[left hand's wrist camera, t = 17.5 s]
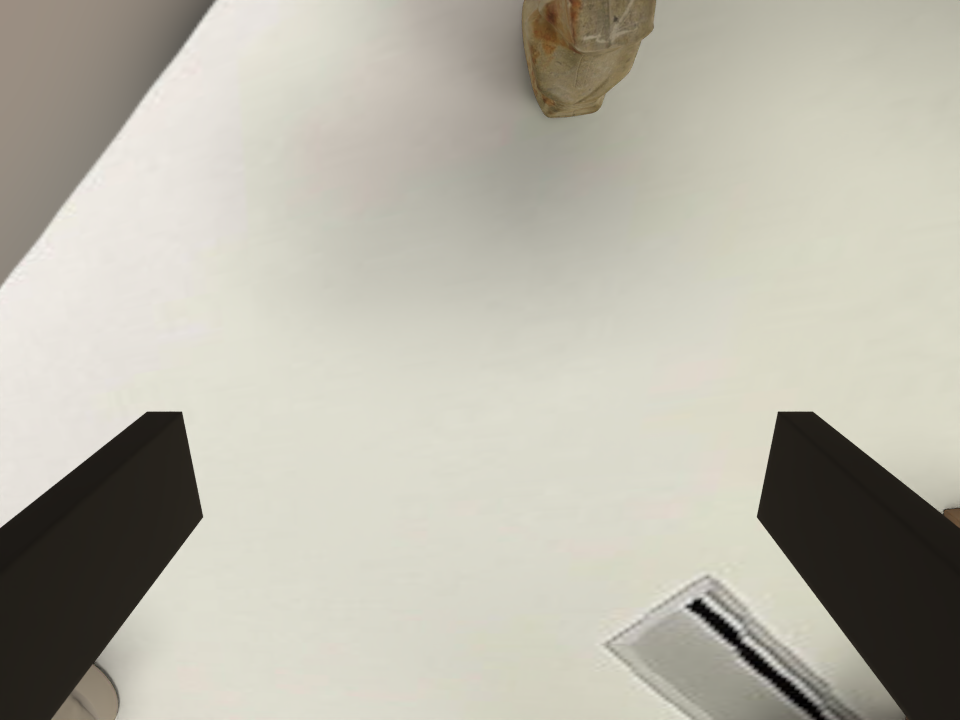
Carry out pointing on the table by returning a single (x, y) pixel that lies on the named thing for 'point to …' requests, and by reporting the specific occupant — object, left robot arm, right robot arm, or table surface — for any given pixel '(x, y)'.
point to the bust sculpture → (90, 699)
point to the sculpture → (581, 49)
